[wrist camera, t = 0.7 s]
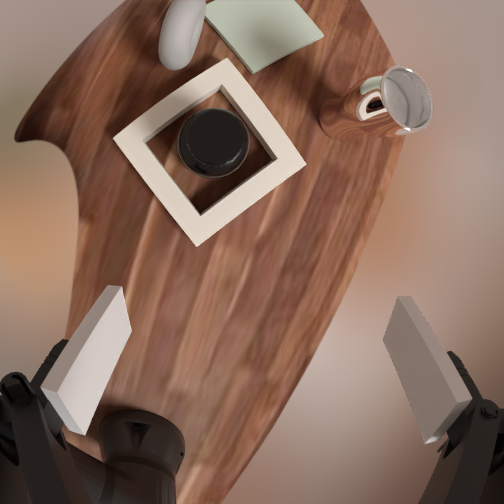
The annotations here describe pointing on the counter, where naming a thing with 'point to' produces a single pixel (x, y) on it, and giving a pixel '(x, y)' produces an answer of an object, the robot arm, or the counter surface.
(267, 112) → the holder
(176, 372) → the counter surface
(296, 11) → the mat
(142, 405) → the counter surface
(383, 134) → the beer glass
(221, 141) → the supplement bottle
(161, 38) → the donut
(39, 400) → the robot arm
